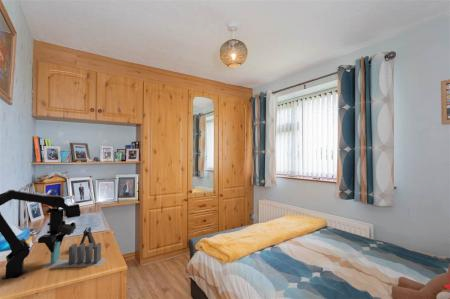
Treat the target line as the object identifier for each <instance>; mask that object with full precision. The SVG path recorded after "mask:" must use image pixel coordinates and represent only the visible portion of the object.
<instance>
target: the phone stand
mask: <svg viewBox="0 0 450 299" xmlns="http://www.w3.org/2000/svg"><path fill="white" fill-rule="evenodd" d="M82 234H83V236H82V238H81V241H80V243H79V245H81V244H82V243H85V240H86V238H87V240H88V244H90V243H93V250H94V246H95V245H96V244H97V243H96V241H95V238H94V236H93V233H92V227H90V226H89V227H86V228H85V229H84V230H83V233H82ZM86 246H87V245H85V248H86Z"/></svg>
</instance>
